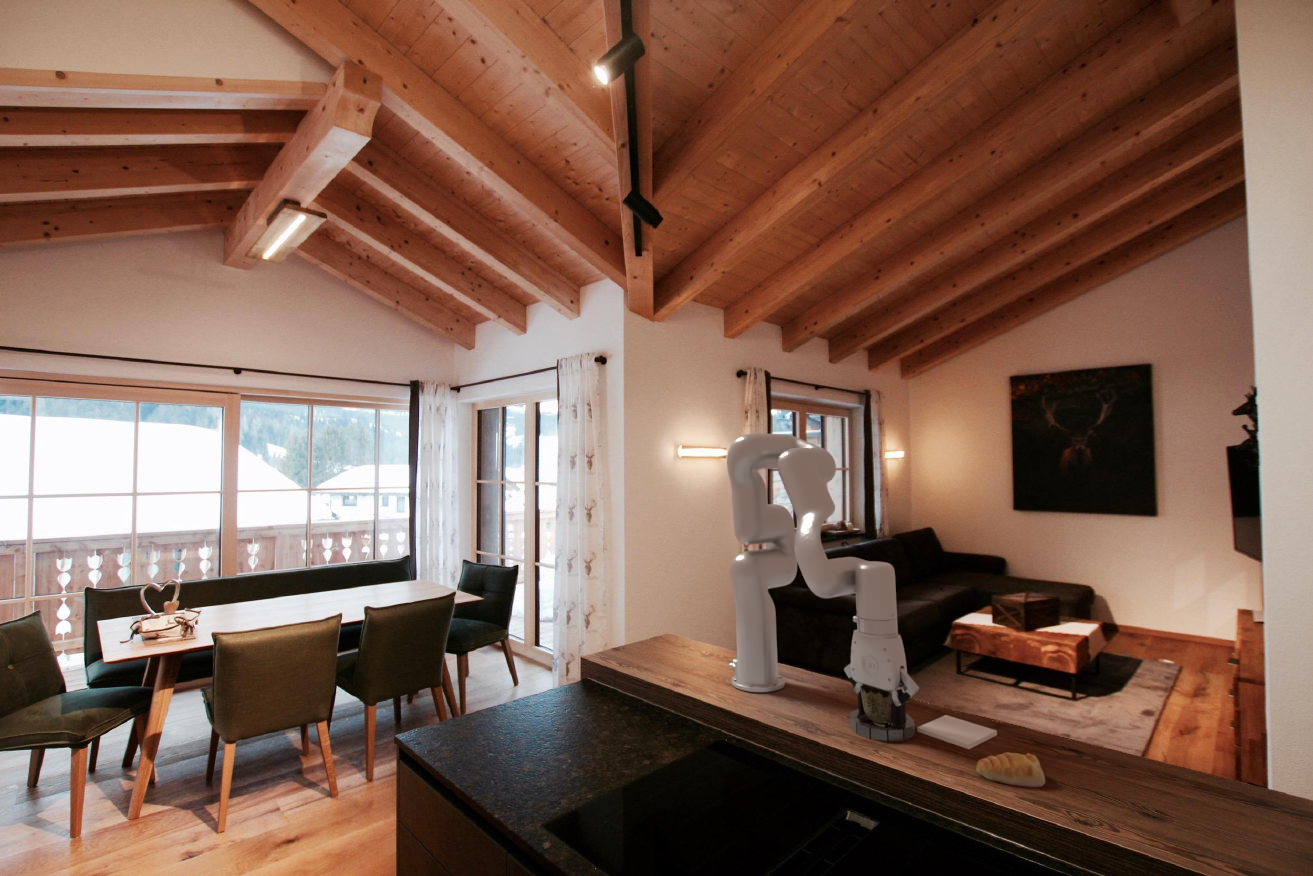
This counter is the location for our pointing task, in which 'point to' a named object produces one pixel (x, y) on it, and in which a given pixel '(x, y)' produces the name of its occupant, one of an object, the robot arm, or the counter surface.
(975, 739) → the stone coaster
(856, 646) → the robot arm
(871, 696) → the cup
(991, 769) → the pastry
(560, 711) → the counter surface
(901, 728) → the stone ring
